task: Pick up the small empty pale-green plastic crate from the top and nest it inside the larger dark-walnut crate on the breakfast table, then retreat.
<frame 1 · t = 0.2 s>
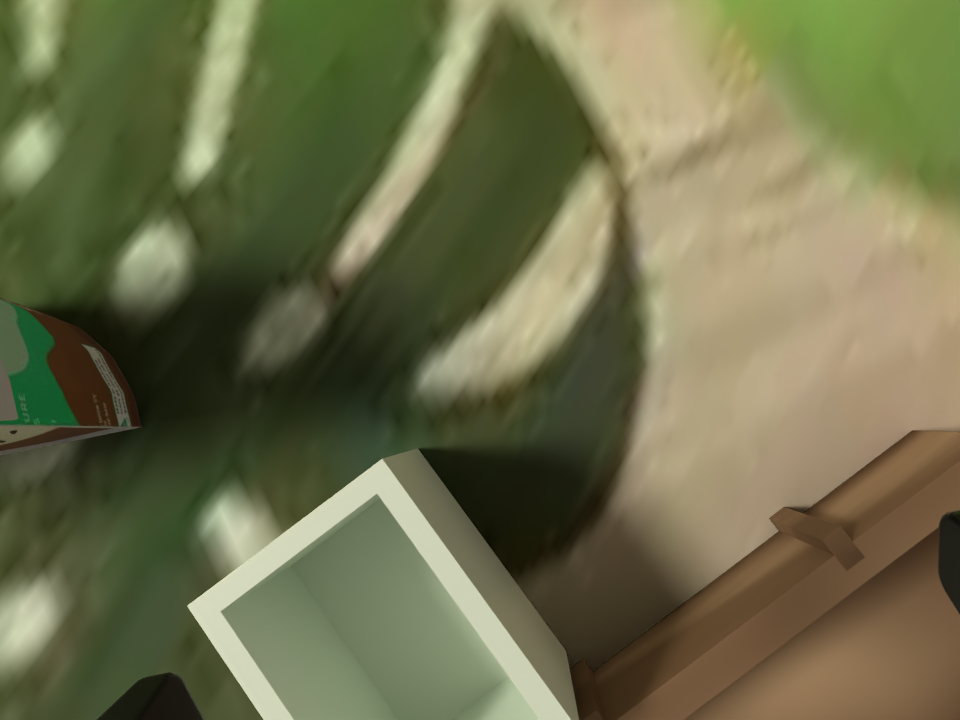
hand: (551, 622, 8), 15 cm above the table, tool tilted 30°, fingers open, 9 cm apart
small crate: (416, 603, 23), on the table
food container: (3, 366, 25), on the table
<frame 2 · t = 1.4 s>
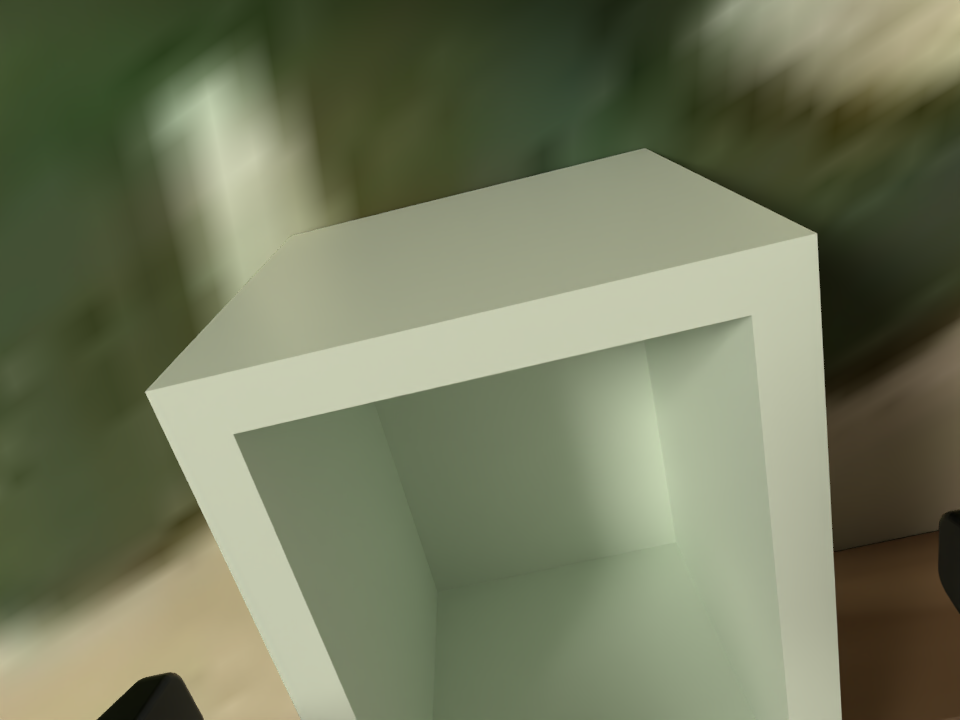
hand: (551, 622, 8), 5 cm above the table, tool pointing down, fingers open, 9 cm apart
small crate: (516, 403, 13), on the table
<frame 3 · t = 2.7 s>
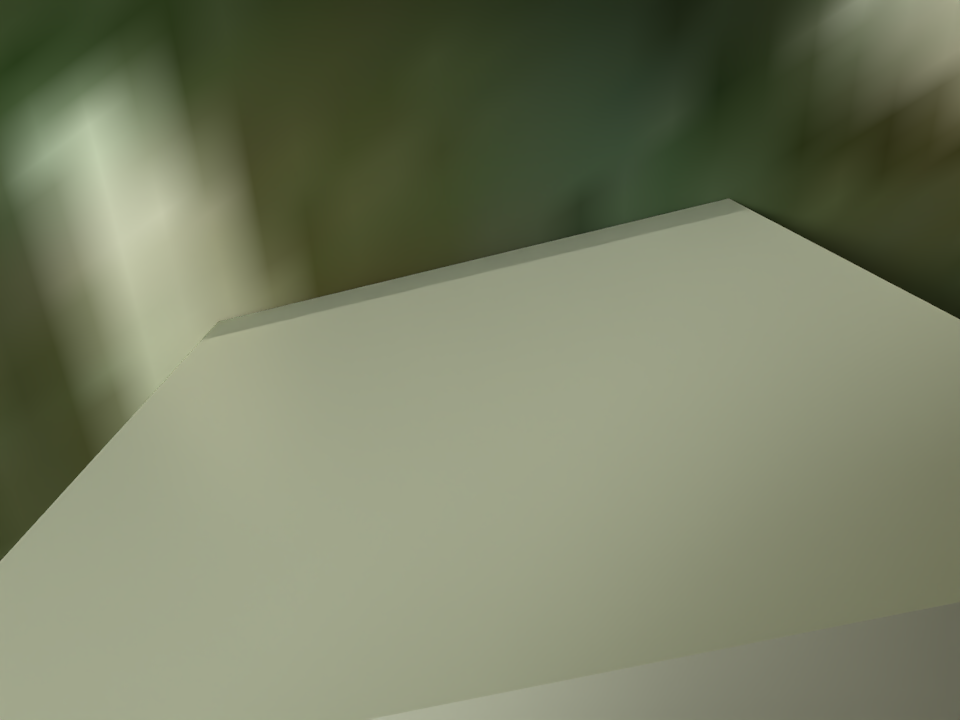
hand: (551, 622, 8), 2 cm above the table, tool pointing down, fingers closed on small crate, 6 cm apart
small crate: (537, 539, 10), on the table, touching gripper
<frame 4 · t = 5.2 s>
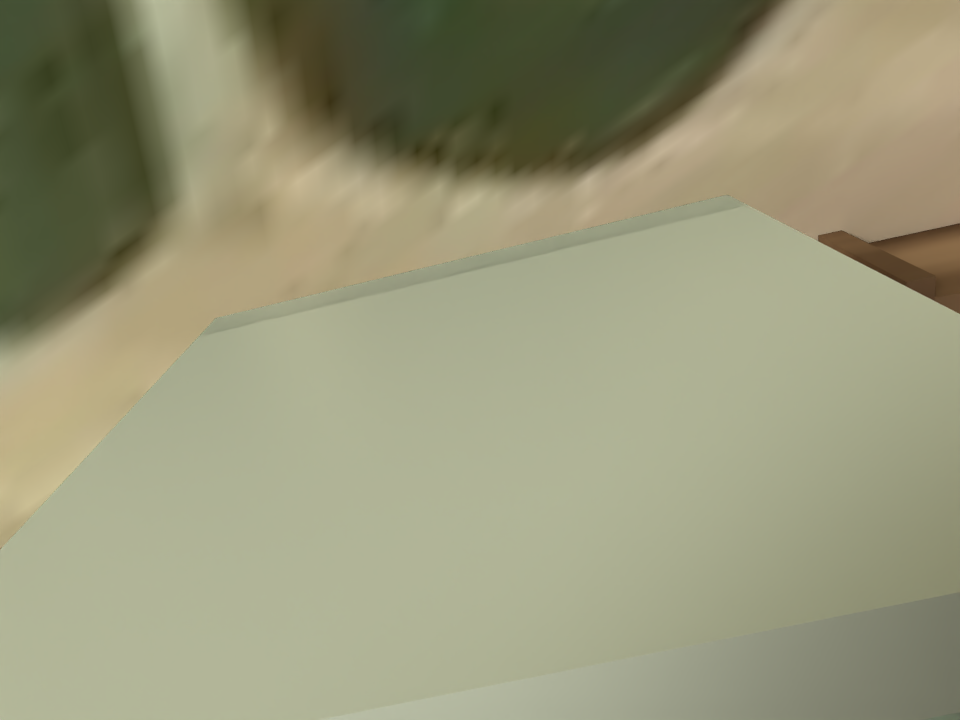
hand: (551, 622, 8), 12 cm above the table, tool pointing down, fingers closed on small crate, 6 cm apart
small crate: (536, 537, 10), point 10 cm above the table, touching gripper
crate: (702, 498, 22), on the table
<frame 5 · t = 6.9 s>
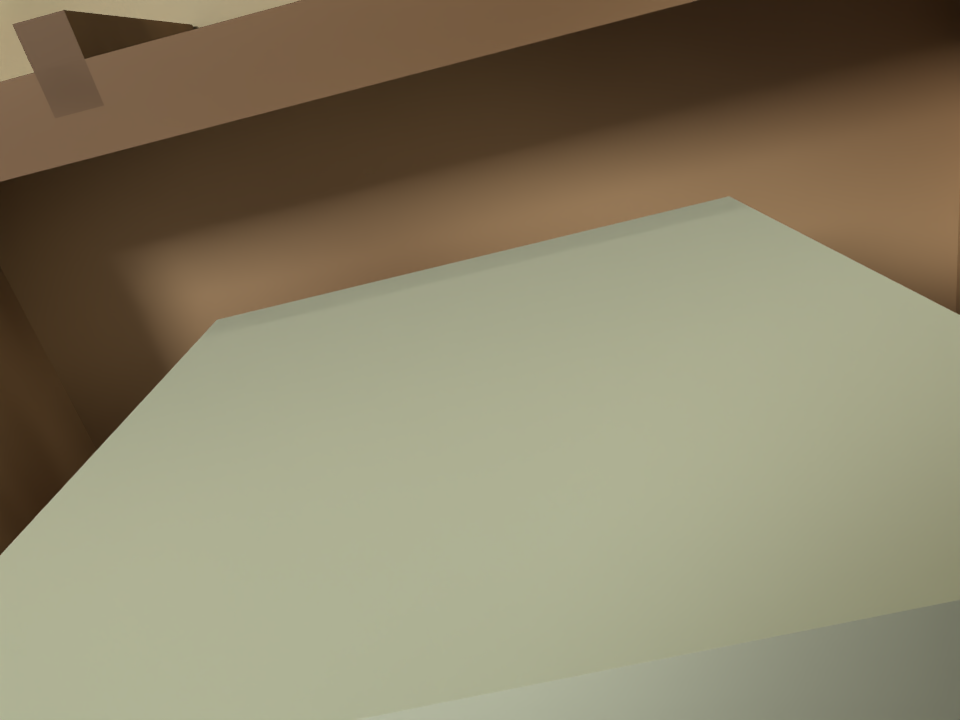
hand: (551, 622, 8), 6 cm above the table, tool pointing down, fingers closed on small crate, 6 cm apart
small crate: (537, 538, 10), point 5 cm above the table, touching gripper
crate: (517, 385, 14), on the table
when the fingers open (4 cm above the table, at t = 8.1 s): small crate drops 2 cm, resting on crate.
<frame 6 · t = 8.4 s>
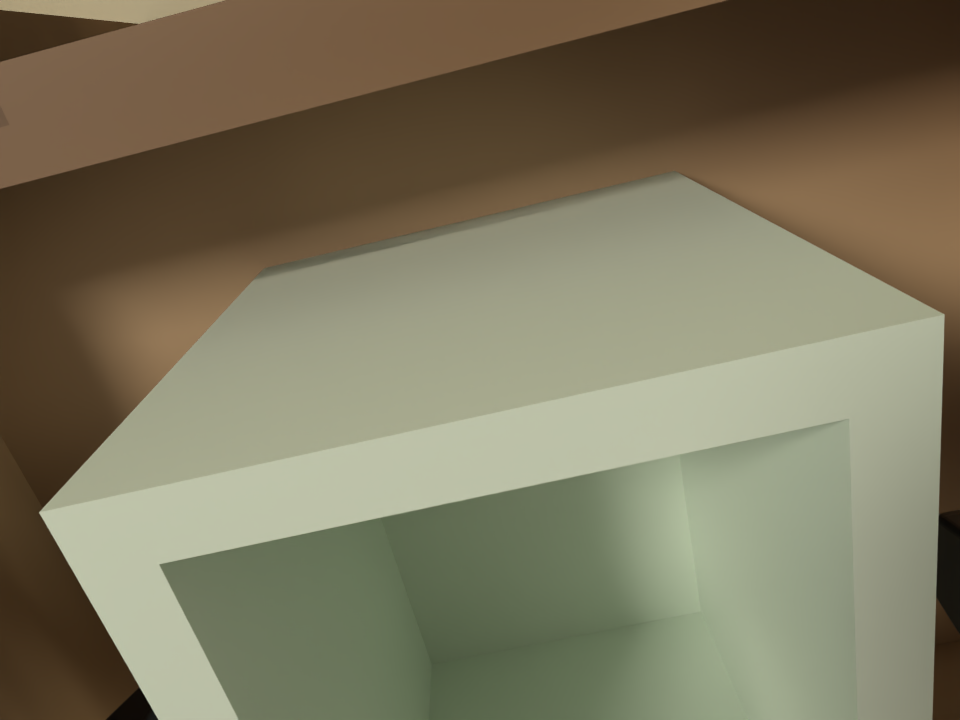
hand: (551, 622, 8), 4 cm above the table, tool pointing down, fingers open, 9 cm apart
small crate: (522, 456, 12), point 1 cm above the table, touching crate
crate: (522, 432, 12), on the table
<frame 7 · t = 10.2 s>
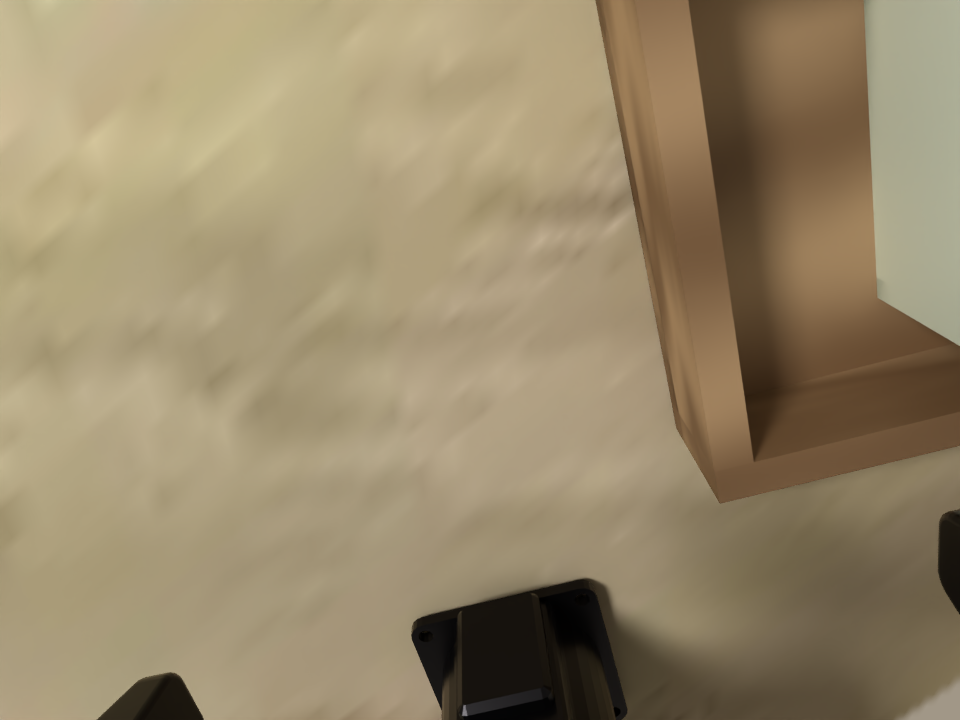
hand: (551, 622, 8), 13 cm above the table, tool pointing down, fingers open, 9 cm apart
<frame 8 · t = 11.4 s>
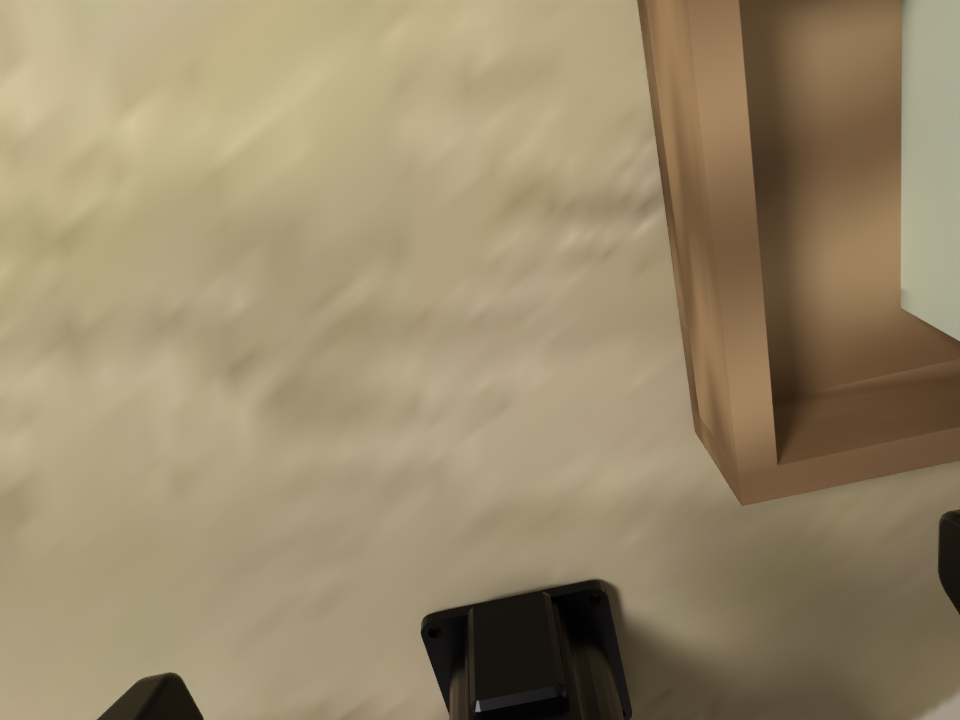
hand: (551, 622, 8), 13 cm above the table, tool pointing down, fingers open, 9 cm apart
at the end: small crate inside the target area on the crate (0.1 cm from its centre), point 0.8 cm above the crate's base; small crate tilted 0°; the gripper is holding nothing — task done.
